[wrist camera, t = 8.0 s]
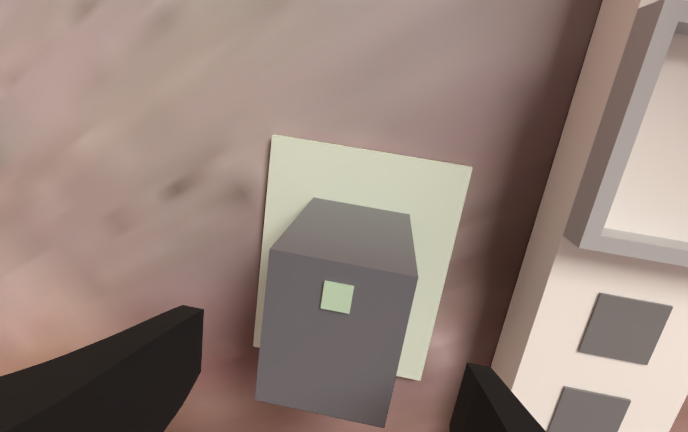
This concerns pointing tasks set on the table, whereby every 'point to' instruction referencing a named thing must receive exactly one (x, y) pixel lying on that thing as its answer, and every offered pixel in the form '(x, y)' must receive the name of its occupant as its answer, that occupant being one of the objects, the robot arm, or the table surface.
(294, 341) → the charger
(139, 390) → the robot arm
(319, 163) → the sage mat
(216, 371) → the table surface
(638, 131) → the white block grey frame
